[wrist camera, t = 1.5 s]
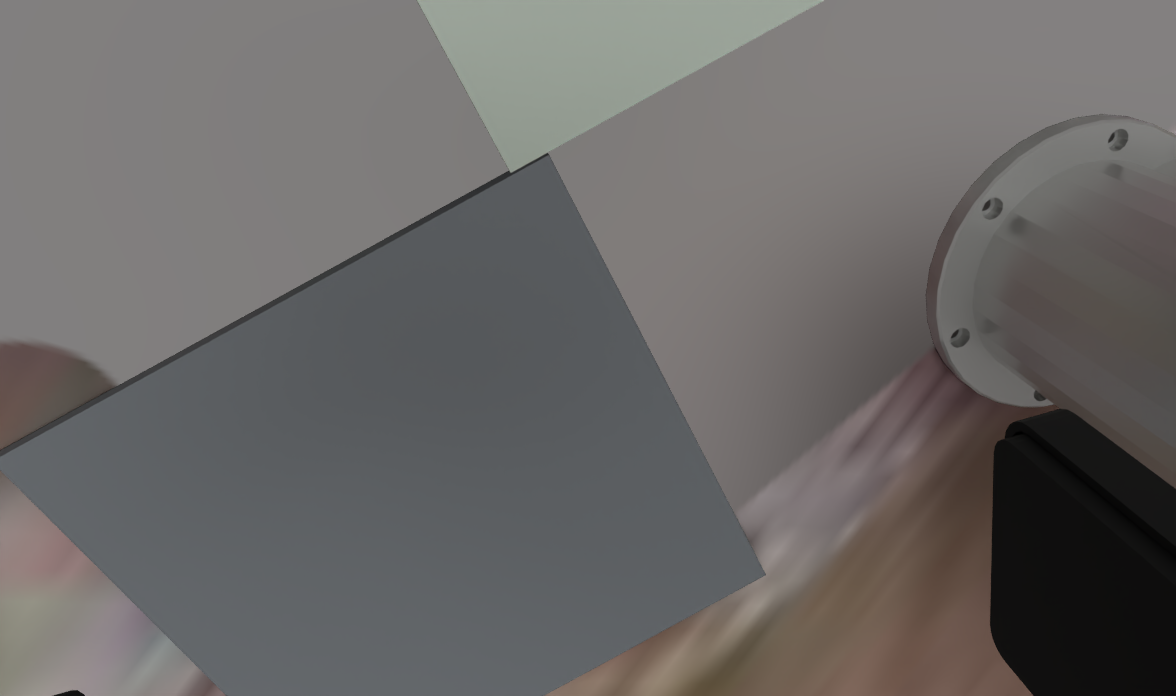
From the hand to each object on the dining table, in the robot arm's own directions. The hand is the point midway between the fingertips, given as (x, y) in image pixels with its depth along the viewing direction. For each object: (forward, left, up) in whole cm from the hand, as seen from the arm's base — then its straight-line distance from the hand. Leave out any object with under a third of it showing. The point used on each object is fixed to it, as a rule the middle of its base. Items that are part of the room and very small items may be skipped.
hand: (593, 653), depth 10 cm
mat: (+8, +14, -26) cm, 31 cm away
